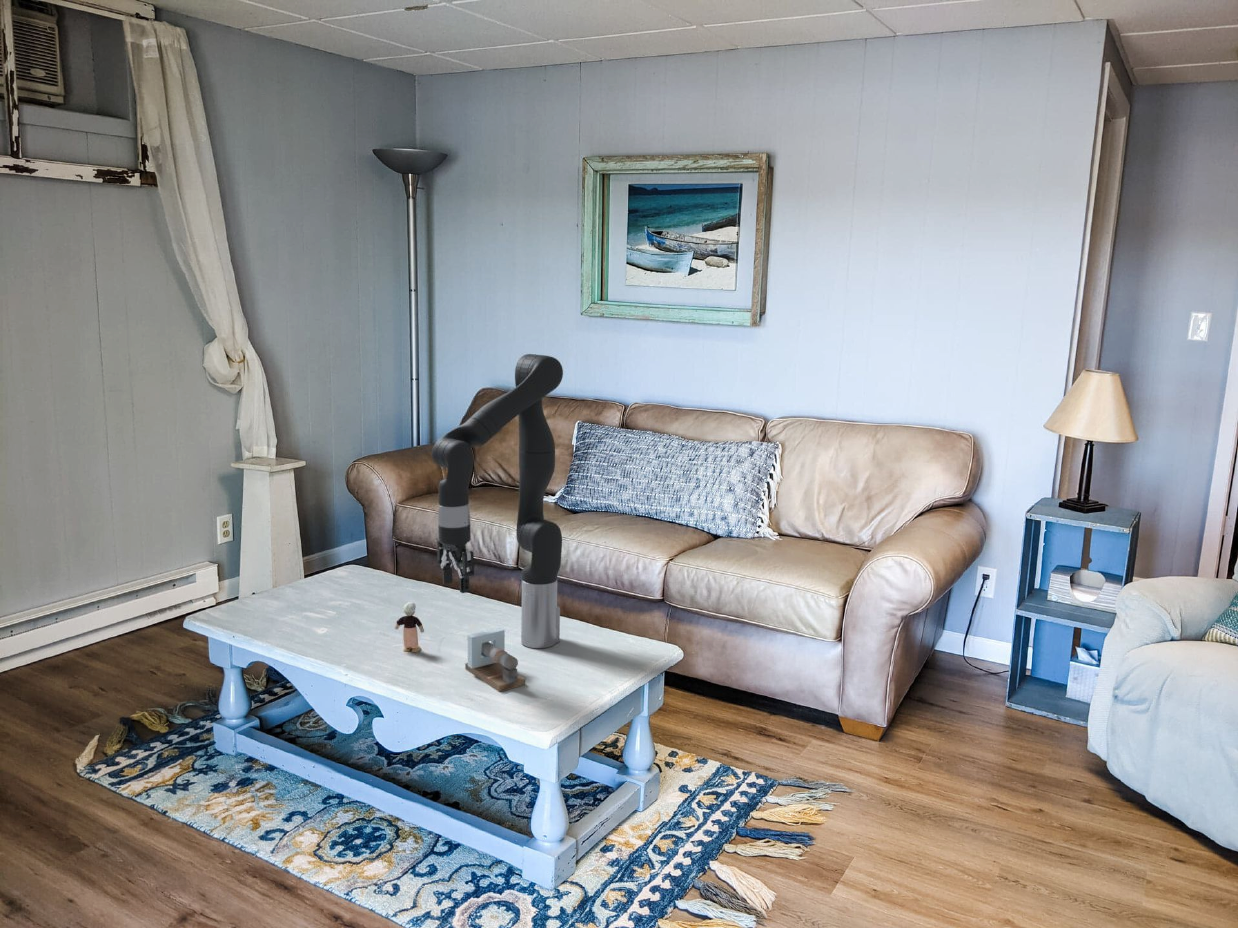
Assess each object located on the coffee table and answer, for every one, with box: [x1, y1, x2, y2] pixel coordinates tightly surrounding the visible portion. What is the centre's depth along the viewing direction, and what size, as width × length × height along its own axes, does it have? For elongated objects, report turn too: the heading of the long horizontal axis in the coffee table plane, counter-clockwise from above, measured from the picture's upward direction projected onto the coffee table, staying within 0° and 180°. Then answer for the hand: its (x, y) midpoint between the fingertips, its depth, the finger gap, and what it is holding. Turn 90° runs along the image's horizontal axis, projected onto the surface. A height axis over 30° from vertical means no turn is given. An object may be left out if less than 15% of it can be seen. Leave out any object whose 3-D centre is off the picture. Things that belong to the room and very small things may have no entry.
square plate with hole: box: [467, 627, 506, 668], centre depth 227 cm, size 9×2×8 cm, turn 128°
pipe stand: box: [464, 641, 526, 693], centre depth 225 cm, size 7×16×8 cm, turn 38°
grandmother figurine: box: [394, 601, 425, 653], centre depth 240 cm, size 8×4×13 cm, turn 92°
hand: (455, 587), depth 227 cm, fingers open, 8 cm apart
